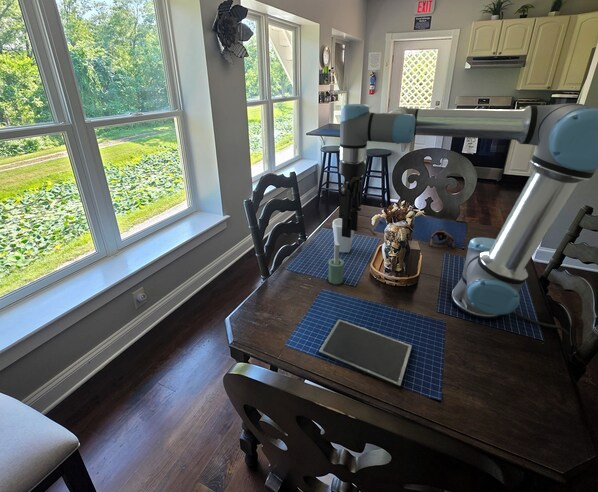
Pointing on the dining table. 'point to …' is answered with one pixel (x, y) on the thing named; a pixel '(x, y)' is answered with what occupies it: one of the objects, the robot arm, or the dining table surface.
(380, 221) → the glasses
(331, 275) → the pen pot
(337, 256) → the stylus
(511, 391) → the dining table surface
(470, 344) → the dining table surface
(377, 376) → the tablet
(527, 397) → the dining table surface
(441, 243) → the pottery mug
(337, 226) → the foam cup
